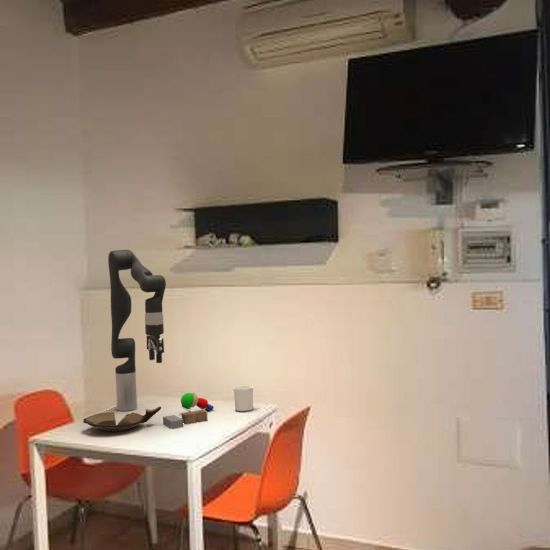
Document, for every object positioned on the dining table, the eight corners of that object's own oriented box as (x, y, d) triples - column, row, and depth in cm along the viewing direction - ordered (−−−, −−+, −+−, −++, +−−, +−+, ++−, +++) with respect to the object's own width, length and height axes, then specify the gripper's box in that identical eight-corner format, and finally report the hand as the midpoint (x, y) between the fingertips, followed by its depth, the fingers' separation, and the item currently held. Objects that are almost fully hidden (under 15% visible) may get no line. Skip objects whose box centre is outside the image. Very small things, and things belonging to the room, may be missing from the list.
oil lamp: (97, 422, 257) (96, 405, 257) (165, 421, 254) (164, 403, 254) (74, 437, 234) (73, 417, 234) (148, 436, 231) (148, 416, 231)
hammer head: (163, 423, 250) (163, 416, 250) (174, 422, 252) (174, 414, 252) (171, 428, 241) (171, 421, 241) (183, 426, 244) (183, 419, 244)
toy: (200, 416, 274) (174, 404, 267) (207, 400, 277) (182, 388, 269) (209, 420, 267) (183, 407, 260) (217, 403, 270) (190, 390, 262)
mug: (251, 412, 264) (250, 389, 264) (232, 412, 266) (231, 389, 266) (256, 406, 275) (255, 384, 275) (238, 406, 277) (237, 384, 276)
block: (181, 413, 251) (203, 409, 256) (181, 422, 251) (203, 419, 256) (184, 415, 247) (207, 411, 252) (185, 424, 247) (207, 420, 252)
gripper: (140, 322, 253) (141, 360, 254) (151, 325, 241) (152, 365, 242) (156, 320, 257) (158, 358, 258) (169, 323, 245) (170, 362, 246)
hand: (155, 361), depth 250 cm, fingers open, 8 cm apart
